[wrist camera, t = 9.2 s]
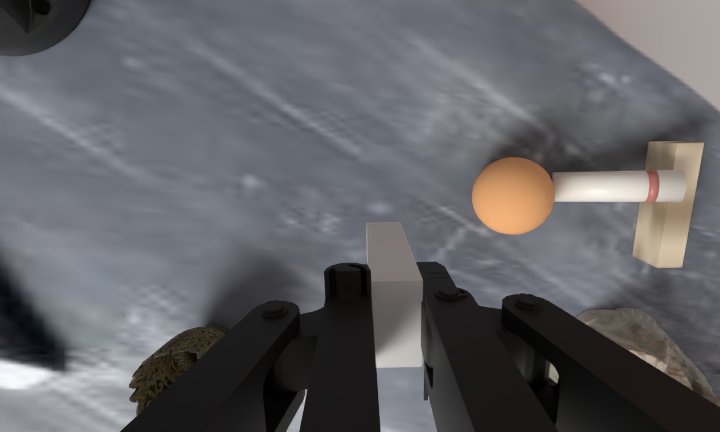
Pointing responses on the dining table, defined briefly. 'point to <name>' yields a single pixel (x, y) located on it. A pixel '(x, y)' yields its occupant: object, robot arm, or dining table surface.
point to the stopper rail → (668, 206)
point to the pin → (620, 186)
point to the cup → (171, 363)
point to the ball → (513, 195)
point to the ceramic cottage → (646, 345)
